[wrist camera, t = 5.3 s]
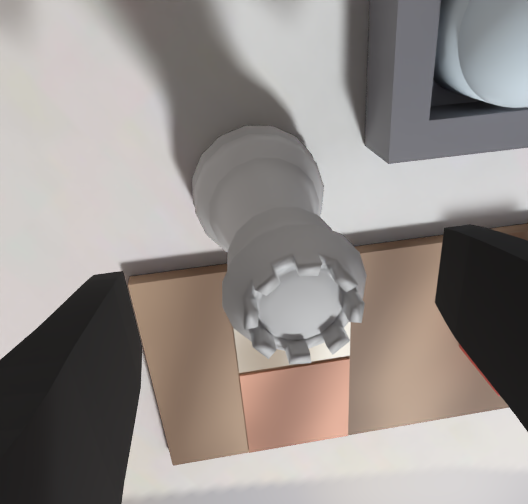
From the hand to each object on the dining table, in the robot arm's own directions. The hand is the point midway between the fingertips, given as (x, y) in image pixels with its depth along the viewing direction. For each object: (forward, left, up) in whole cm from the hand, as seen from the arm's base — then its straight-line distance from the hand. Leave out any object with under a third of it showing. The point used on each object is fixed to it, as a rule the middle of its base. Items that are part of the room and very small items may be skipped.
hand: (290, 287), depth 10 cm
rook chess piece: (0, 0, -7) cm, 7 cm away
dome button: (-8, -4, -7) cm, 12 cm away
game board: (-4, +8, -7) cm, 11 cm away
